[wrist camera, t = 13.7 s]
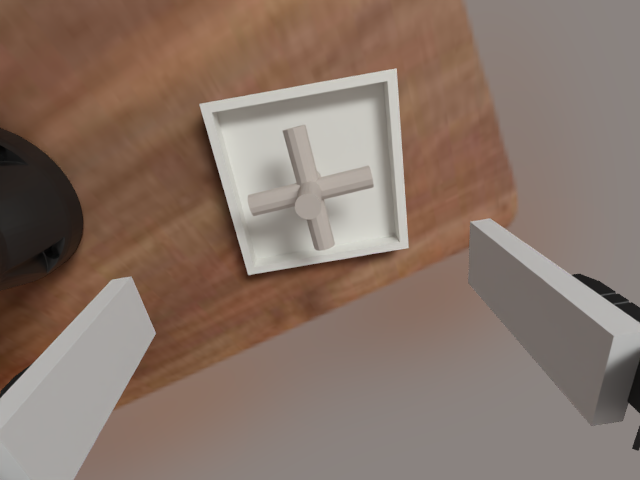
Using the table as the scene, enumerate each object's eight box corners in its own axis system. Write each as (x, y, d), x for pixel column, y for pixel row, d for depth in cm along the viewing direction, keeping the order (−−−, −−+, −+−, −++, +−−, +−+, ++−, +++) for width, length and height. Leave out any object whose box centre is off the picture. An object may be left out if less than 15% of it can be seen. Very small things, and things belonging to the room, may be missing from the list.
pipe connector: (373, 216, 34) (393, 256, 25) (275, 238, 35) (259, 286, 26) (352, 110, 31) (366, 111, 22) (244, 138, 32) (213, 151, 22)
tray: (251, 263, 37) (248, 275, 35) (206, 102, 31) (199, 104, 28) (401, 237, 37) (408, 247, 35) (389, 69, 30) (396, 68, 28)
